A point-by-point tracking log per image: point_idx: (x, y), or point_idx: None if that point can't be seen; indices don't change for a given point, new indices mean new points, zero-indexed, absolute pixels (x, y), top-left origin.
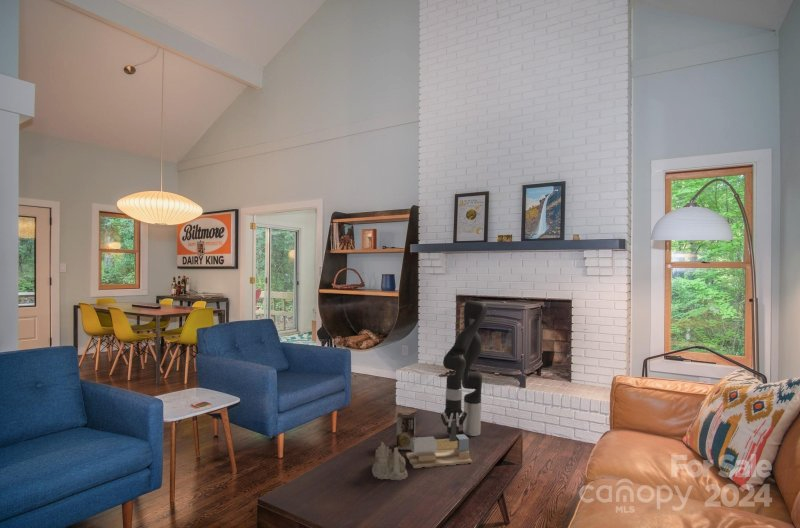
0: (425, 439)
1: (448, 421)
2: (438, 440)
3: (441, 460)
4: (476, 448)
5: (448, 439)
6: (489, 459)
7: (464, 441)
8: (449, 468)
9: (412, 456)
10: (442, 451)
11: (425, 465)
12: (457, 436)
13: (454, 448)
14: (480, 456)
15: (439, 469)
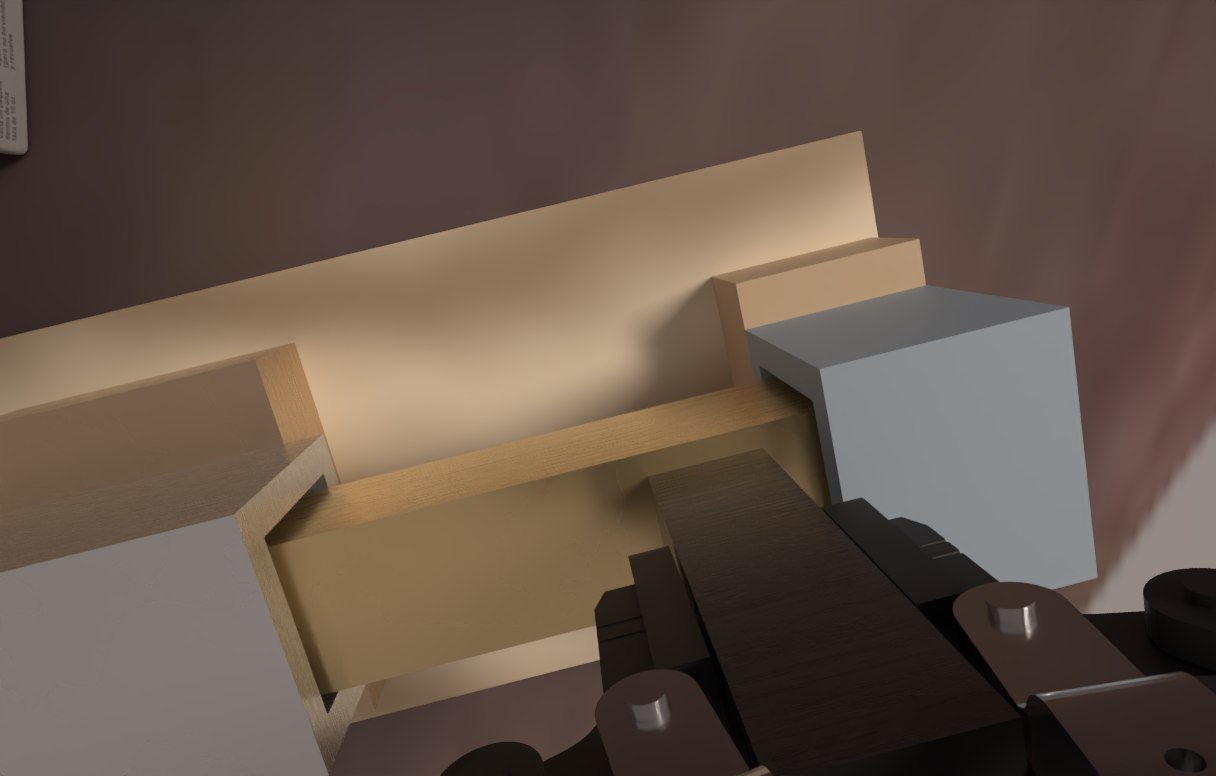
0: (41, 718)
1: None
2: (385, 581)
3: None
4: (1115, 16)
5: (624, 510)
6: (1183, 415)
7: None
8: (585, 719)
9: None
10: (520, 280)
11: None
12: (858, 468)
13: (731, 309)
14: (1088, 324)
15: (450, 757)
